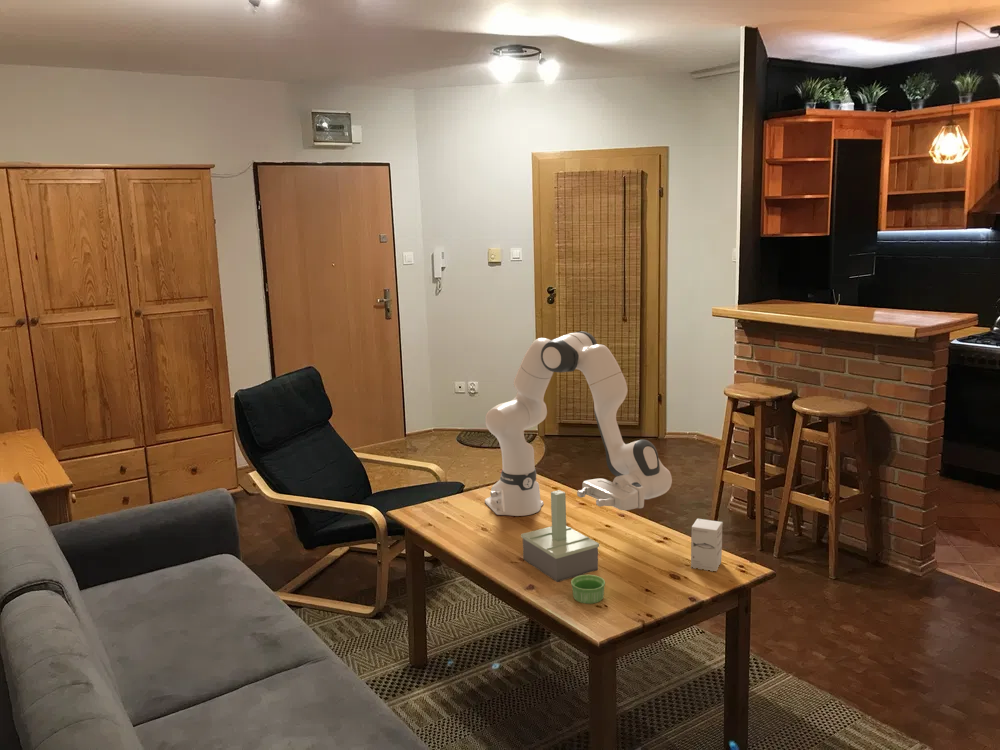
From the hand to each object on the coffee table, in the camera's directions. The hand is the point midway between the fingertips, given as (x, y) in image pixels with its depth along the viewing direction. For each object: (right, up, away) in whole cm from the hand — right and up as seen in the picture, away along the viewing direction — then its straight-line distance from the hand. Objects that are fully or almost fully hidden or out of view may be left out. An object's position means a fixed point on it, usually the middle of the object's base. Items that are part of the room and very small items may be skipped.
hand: (587, 498), depth 232 cm
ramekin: (-2, -23, -22) cm, 32 cm away
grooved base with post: (-9, -12, -3) cm, 15 cm away
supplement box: (+33, -18, -6) cm, 38 cm away
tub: (-8, -19, -2) cm, 21 cm away
